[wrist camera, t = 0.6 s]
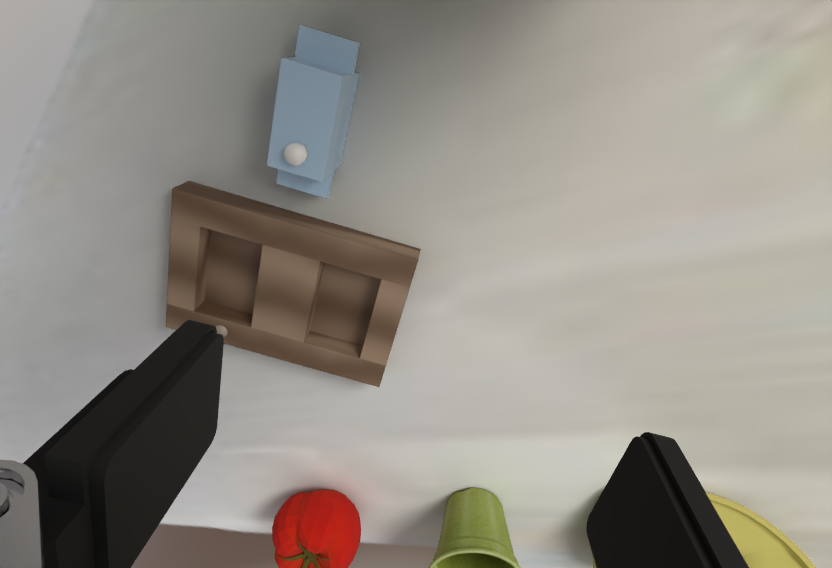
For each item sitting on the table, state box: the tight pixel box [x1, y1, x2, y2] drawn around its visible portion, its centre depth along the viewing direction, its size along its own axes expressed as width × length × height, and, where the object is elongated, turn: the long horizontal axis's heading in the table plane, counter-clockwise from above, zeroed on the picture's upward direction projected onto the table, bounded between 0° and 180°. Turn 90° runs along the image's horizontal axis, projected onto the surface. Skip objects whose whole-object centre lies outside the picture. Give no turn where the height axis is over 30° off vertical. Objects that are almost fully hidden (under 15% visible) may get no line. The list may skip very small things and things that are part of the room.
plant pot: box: [429, 488, 520, 568], centre depth 49 cm, size 9×9×9 cm
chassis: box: [166, 181, 420, 387], centre depth 42 cm, size 13×20×3 cm, turn 74°
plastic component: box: [593, 493, 816, 568], centre depth 50 cm, size 20×7×10 cm
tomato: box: [272, 490, 361, 568], centre depth 52 cm, size 9×9×8 cm
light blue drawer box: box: [267, 25, 360, 199], centre depth 34 cm, size 11×4×6 cm, turn 164°
